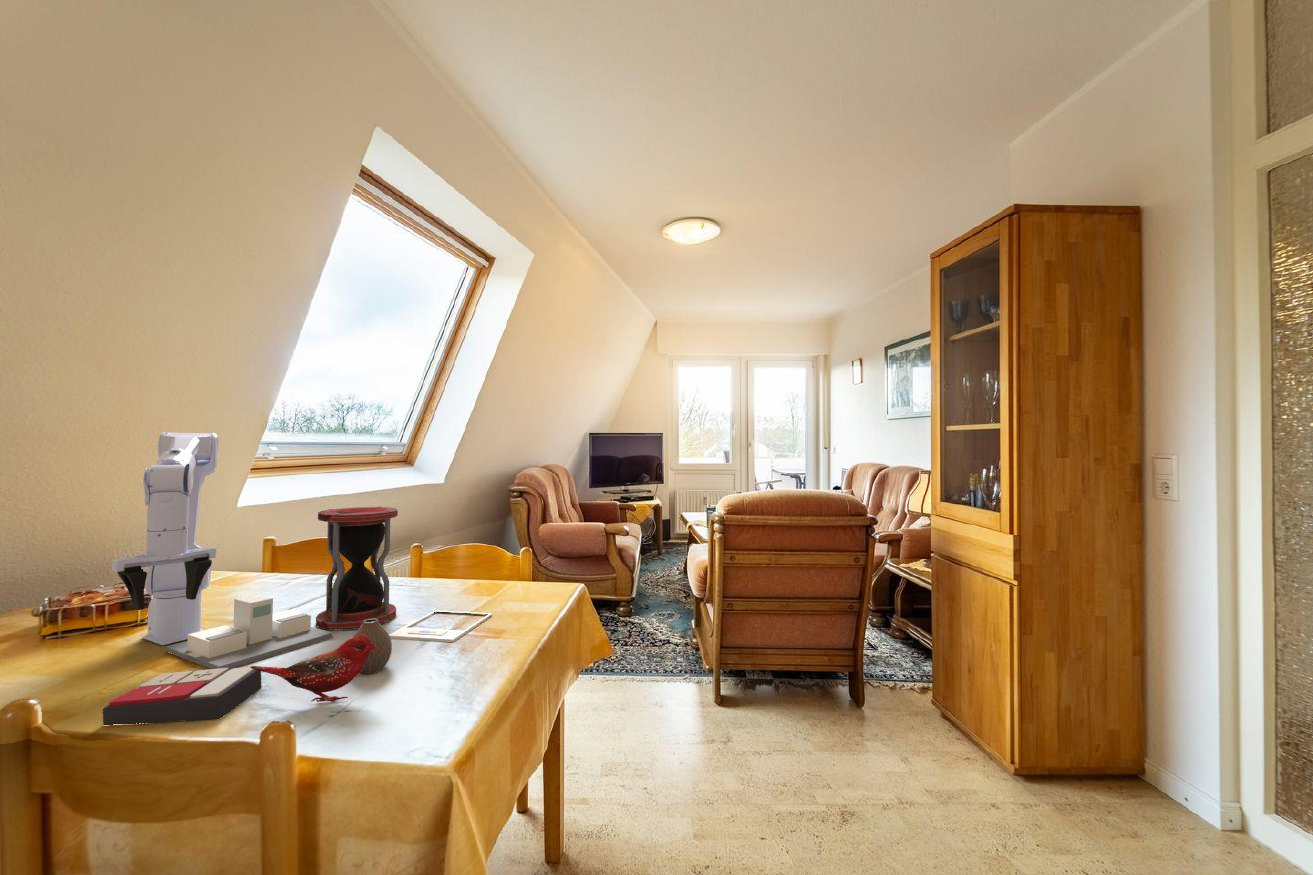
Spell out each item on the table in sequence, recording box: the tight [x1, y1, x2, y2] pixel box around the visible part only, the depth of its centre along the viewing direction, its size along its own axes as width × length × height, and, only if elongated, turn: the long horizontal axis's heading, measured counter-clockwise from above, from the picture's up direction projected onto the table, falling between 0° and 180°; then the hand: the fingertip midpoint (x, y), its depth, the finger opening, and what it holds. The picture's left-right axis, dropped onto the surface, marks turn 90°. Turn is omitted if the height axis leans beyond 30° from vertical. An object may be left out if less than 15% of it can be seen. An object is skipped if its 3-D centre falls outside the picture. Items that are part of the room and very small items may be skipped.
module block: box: [233, 594, 274, 645], centre depth 109 cm, size 6×4×8 cm, turn 62°
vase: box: [352, 619, 392, 676], centre depth 96 cm, size 7×7×9 cm
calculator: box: [102, 666, 263, 725], centre depth 83 cm, size 11×4×15 cm
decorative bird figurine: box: [249, 635, 377, 703], centre depth 84 cm, size 3×18×10 cm, turn 102°
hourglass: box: [315, 506, 399, 631], centre depth 125 cm, size 16×16×25 cm
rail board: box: [165, 609, 334, 670], centre depth 109 cm, size 20×20×4 cm
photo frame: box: [388, 609, 493, 643], centre depth 121 cm, size 15×1×18 cm
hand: (165, 603), depth 100 cm, fingers open, 7 cm apart
